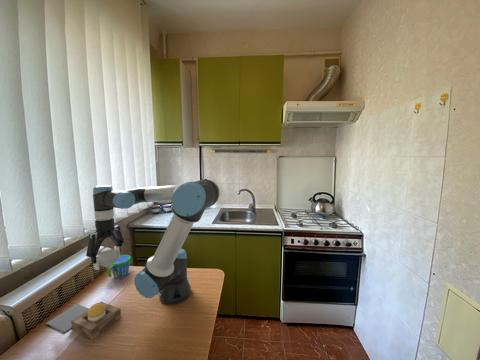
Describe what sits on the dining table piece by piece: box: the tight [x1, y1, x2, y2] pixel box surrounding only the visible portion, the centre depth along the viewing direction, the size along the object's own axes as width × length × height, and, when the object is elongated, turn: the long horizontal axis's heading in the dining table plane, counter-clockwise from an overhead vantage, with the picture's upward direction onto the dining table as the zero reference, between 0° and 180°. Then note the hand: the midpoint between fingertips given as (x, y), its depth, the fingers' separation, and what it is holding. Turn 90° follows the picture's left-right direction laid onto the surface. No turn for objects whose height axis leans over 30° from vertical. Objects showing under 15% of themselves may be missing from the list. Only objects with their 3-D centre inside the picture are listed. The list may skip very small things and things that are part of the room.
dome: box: [88, 302, 106, 323], centre depth 85 cm, size 6×6×7 cm
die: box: [97, 247, 118, 269], centre depth 99 cm, size 8×9×10 cm
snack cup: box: [107, 254, 133, 280], centre depth 120 cm, size 16×10×10 cm
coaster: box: [45, 303, 90, 334], centre depth 89 cm, size 12×12×1 cm
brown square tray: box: [71, 301, 122, 341], centre depth 86 cm, size 12×12×4 cm
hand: (107, 263), depth 100 cm, fingers closed on die, 10 cm apart
